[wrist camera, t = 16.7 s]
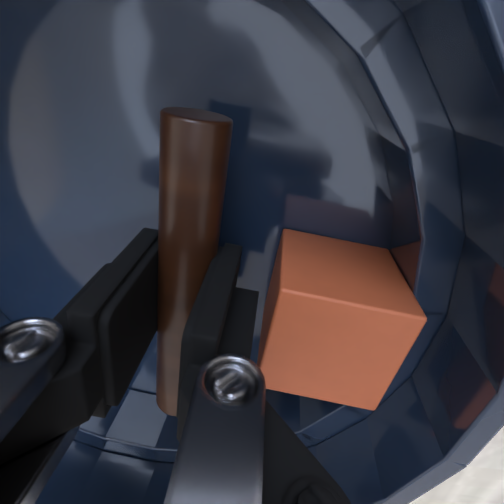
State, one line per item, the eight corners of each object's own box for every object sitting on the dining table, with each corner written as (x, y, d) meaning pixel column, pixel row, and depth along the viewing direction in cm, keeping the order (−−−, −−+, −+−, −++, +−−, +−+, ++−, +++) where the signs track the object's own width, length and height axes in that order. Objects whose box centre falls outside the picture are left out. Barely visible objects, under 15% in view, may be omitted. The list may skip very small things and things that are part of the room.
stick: (181, 104, 8) (145, 109, 6) (242, 117, 8) (219, 124, 6) (169, 373, 13) (147, 407, 11) (206, 386, 13) (188, 423, 11)
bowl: (-20, 365, 17) (-145, 479, 12) (-238, -195, 7) (-1197, -689, 3) (338, 438, 16) (357, 589, 12) (588, -66, 7) (1249, -389, 2)
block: (263, 309, 12) (254, 387, 9) (283, 226, 10) (279, 288, 7) (354, 327, 12) (375, 412, 9) (388, 248, 10) (429, 319, 7)
